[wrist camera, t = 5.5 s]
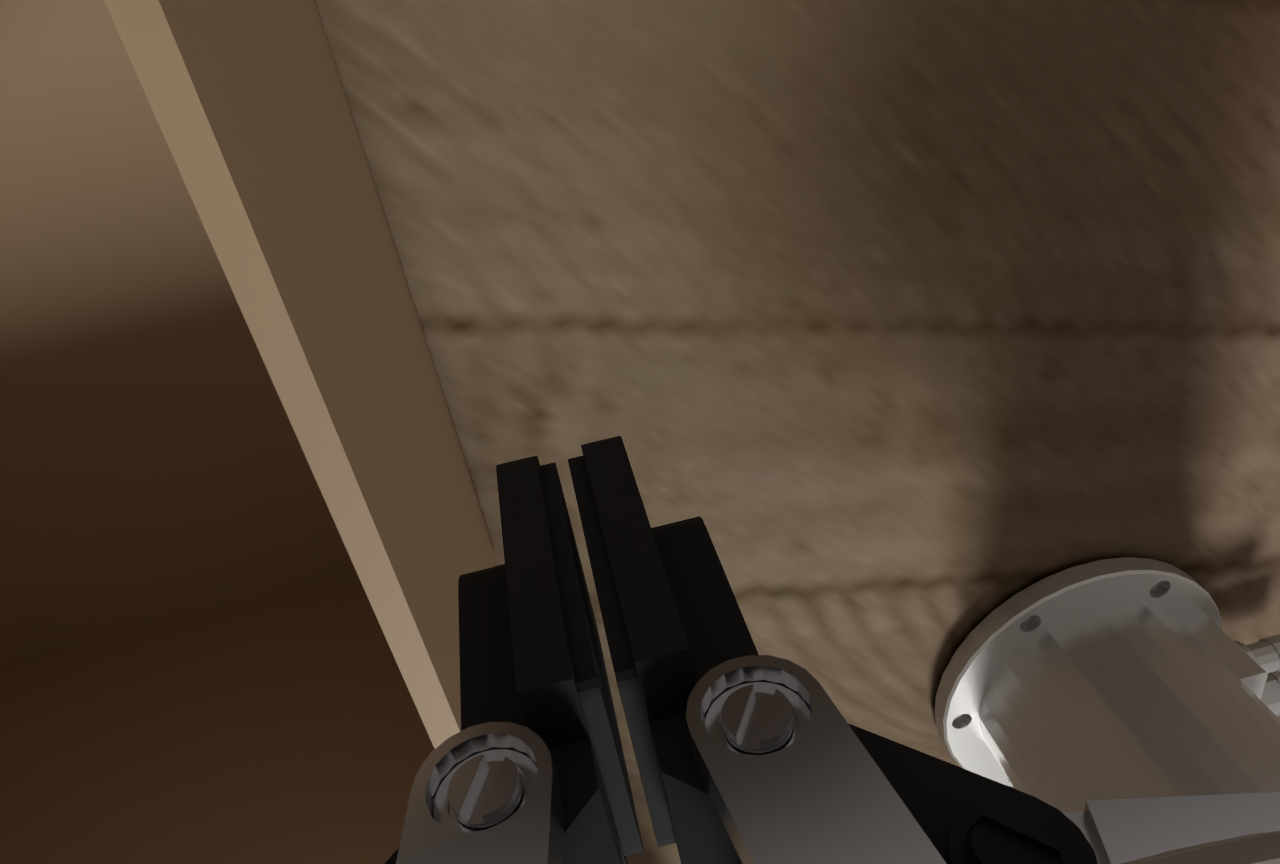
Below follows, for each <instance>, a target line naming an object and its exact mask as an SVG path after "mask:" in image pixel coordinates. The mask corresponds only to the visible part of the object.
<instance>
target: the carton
mask: <svg viewBox="0 0 1280 864" xmlns="http://www.w3.org/2000/svg"><path fill="white" fill-rule="evenodd" d="M491 567H495V562H494V548H493V542H492V539H491V536H490V533H489V530H488V527H487V524H486V521H485V518H484V515H483V512H482V509H481V506H480V503H479V500H478V497H477V494H476V491H475V488H474V485H473V482H472V478H471V475H470V472H469V469H468V466H467V463H466V460H465V457H464V454H463V451H462V448H461V445H460V442H459V439H458V436H457V433H456V430H455V427H454V424H453V421H452V418H451V415H450V411H449V408H448V405H447V402H446V399H445V396H444V393H443V390H442V387H441V384H440V381H439V378H438V375H437V372H436V369H435V366H434V363H433V360H432V357H431V354H430V351H429V347H428V344H427V341H426V338H425V335H424V332H423V329H422V326H421V323H420V320H419V317H418V314H417V311H416V308H415V305H414V302H413V299H412V296H411V293H410V290H409V287H408V284H407V280H406V277H405V274H404V271H403V268H402V265H401V262H400V259H399V256H398V253H397V250H396V247H395V244H394V241H393V238H392V235H391V232H390V229H389V226H388V223H387V220H386V217H385V213H384V210H383V207H382V204H381V201H380V198H379V195H378V192H377V189H376V186H375V183H374V180H373V177H372V174H371V171H370V168H369V165H368V162H367V159H366V156H365V153H364V150H363V146H362V143H361V140H360V137H359V134H358V131H357V128H356V125H355V122H354V119H353V116H352V113H351V110H350V107H349V104H348V101H347V98H346V95H345V92H344V89H343V86H342V82H341V79H340V76H339V73H338V70H337V67H336V64H335V61H334V58H333V55H332V52H331V49H330V46H329V43H328V40H327V37H326V34H325V31H324V28H323V25H322V22H321V19H320V15H319V12H318V9H317V6H316V3H315V0H0V864H385V862H386V861H387V860H388V859H389V858H390V857H391V856H392V855H393V853H394V852H395V851H396V850H397V849H398V848H399V846H400V841H401V836H402V831H403V826H404V821H405V816H406V811H407V806H408V801H409V797H410V792H411V788H412V785H413V783H414V780H415V777H416V775H417V772H418V770H419V768H420V767H421V766H422V764H423V763H424V762H425V760H426V759H427V757H428V756H429V755H430V753H431V752H432V751H434V750H435V749H436V748H437V747H438V746H439V745H441V744H442V743H443V742H444V741H445V740H446V739H448V738H449V737H451V736H453V735H455V734H457V733H459V732H460V731H461V702H460V654H459V606H458V580H459V577H460V575H463V574H467V573H471V572H475V571H479V570H483V569H487V568H491Z"/></svg>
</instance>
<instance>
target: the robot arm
mask: <svg viewBox="0 0 1280 864" xmlns="http://www.w3.org/2000/svg"><path fill="white" fill-rule="evenodd" d="M581 447H582V451H583V455H584V456H580V457H576V458H571V459H568V462H569V467H570V471H571V476H572V481H573V485H574V490H575V494H576V499H577V504H578V508H579V513H580V517H581V522H582V526H583V531H584V536H585V540H586V545H587V549H588V554H589V558H590V563H591V568H592V572H593V577H594V581H595V586H596V591H597V595H598V600H599V604H600V609H601V613H602V618H603V623H604V627H605V632H606V636H607V641H608V645H609V650H610V654H611V659H612V663H613V667H614V672H615V676H616V680H617V684H618V688H619V692H620V696H621V700H622V704H623V708H624V712H625V716H626V720H627V724H628V728H629V732H630V736H631V740H632V744H633V748H634V752H635V756H636V760H637V764H638V768H639V772H640V776H641V780H642V784H643V788H644V792H645V797H646V801H647V805H648V809H649V813H650V817H651V821H652V825H653V829H654V833H655V837H656V841H657V844H658V847H662V846H666V845H669V844H673V843H676V844H677V848H678V852H679V856H680V860H681V864H1280V719H1279V718H1278V717H1277V716H1278V715H1279V716H1280V634H1278V635H1275V636H1271V637H1267V638H1264V639H1260V640H1259V641H1258V642H1255V643H1252V644H1248V645H1245V644H1243V643H1240V642H1238V641H1233V640H1232V639H1231V638H1230V637H1229V636H1228V635H1227V634H1226V633H1225V632H1224V631H1223V630H1222V623H1221V618H1220V614H1219V610H1218V607H1217V606H1216V604H1215V602H1214V601H1213V599H1212V598H1211V596H1210V594H1209V593H1208V592H1207V591H1206V590H1205V589H1204V588H1203V587H1202V586H1200V585H1199V584H1198V583H1197V582H1196V581H1195V580H1194V579H1193V578H1192V577H1191V576H1190V575H1189V574H1187V573H1185V572H1184V571H1182V570H1180V569H1179V568H1177V567H1175V566H1174V565H1172V564H1168V563H1165V562H1161V561H1158V560H1154V559H1148V558H1133V557H1123V558H1113V559H1104V560H1097V561H1093V562H1090V563H1086V564H1082V565H1078V566H1074V567H1071V568H1068V569H1065V570H1063V571H1061V572H1058V573H1056V574H1053V575H1051V576H1048V577H1046V578H1043V579H1041V580H1040V581H1038V582H1036V583H1034V584H1033V585H1031V586H1029V587H1027V588H1025V589H1024V590H1022V591H1020V592H1018V593H1017V594H1015V595H1014V596H1012V597H1011V598H1010V599H1008V600H1007V601H1006V602H1004V603H1003V604H1002V605H1000V606H999V607H997V608H996V609H995V610H993V611H992V612H991V613H990V614H989V615H988V616H987V617H986V618H985V619H984V620H983V621H982V622H981V623H979V624H978V625H977V626H976V627H975V628H974V629H973V630H972V631H971V632H970V634H969V635H968V636H967V638H966V639H965V640H964V641H963V643H962V644H961V645H960V646H959V648H958V649H957V650H956V652H955V653H954V655H953V657H952V658H951V660H950V662H949V664H948V666H947V668H946V669H945V671H944V673H943V675H942V678H941V681H940V684H939V687H938V690H937V694H936V701H935V714H934V715H935V720H936V725H937V729H938V733H939V734H940V736H941V738H942V740H943V742H944V744H945V745H946V747H947V749H948V751H949V753H950V754H951V756H952V757H953V758H954V759H955V761H956V762H957V763H958V765H959V766H960V767H961V768H960V767H958V766H955V765H953V764H950V763H948V762H945V761H943V760H940V759H937V758H935V757H932V756H930V755H927V754H925V753H922V752H920V751H917V750H915V749H912V748H909V747H907V746H904V745H902V744H899V743H897V742H894V741H892V740H889V739H887V738H884V737H881V736H879V735H876V734H874V733H871V732H869V731H866V730H864V729H861V728H859V727H856V726H853V725H851V724H848V723H847V722H846V720H845V719H844V717H843V716H842V714H841V713H840V712H839V710H838V709H837V707H836V706H835V705H834V703H833V702H832V700H831V699H830V697H829V696H828V695H827V693H826V692H825V690H824V689H823V687H822V686H821V685H820V683H819V682H818V681H817V680H816V679H815V678H814V677H813V676H812V675H811V674H810V673H809V672H808V671H807V670H806V669H804V668H802V667H801V666H799V665H797V664H795V663H793V662H791V661H789V660H786V659H782V658H778V657H774V656H769V655H758V652H757V650H756V647H755V645H754V643H753V640H752V638H751V635H750V633H749V630H748V628H747V626H746V623H745V621H744V618H743V616H742V613H741V611H740V609H739V606H738V604H737V601H736V599H735V596H734V594H733V592H732V589H731V587H730V584H729V582H728V579H727V577H726V575H725V572H724V570H723V567H722V565H721V563H720V560H719V558H718V555H717V553H716V550H715V548H714V546H713V543H712V541H711V538H710V536H709V533H708V531H707V529H706V526H705V524H704V522H703V520H702V518H701V517H700V516H699V517H695V518H691V519H687V520H683V521H679V522H675V523H671V524H667V525H662V526H658V527H654V528H651V527H650V524H649V521H648V518H647V515H646V511H645V508H644V505H643V502H642V499H641V496H640V493H639V490H638V487H637V484H636V481H635V478H634V475H633V471H632V468H631V465H630V462H629V459H628V456H627V453H626V450H625V447H624V444H623V441H622V438H621V436H617V437H613V438H609V439H605V440H600V441H596V442H592V443H588V444H584V445H581ZM496 468H497V481H498V492H499V503H500V514H501V524H502V535H503V546H504V557H505V564H504V565H500V566H495V567H491V568H487V569H483V570H479V571H475V572H471V573H467V574H463V575H460V577H459V580H458V606H459V654H460V702H461V731H460V732H459V733H457V734H455V735H453V736H451V737H449V738H448V739H446V740H445V741H444V742H443V743H442V744H441V745H439V746H438V747H437V748H436V749H435V750H434V751H432V752H431V753H430V755H429V756H428V757H427V759H426V760H425V762H424V763H423V764H422V766H421V767H420V768H419V770H418V772H417V775H416V777H415V780H414V783H413V785H412V788H411V792H410V797H409V801H408V806H407V811H406V816H405V821H404V826H403V831H402V836H401V841H400V846H399V848H398V849H397V850H396V851H395V852H394V853H393V855H392V856H391V857H390V858H389V859H388V860H387V861H386V862H385V864H628V861H627V856H629V855H632V854H636V853H640V852H643V845H642V840H641V835H640V831H639V826H638V821H637V816H636V811H635V807H634V802H633V797H632V792H631V787H630V783H629V778H628V773H627V768H626V763H625V759H624V754H623V749H622V744H621V739H620V735H619V730H618V725H617V720H616V715H615V711H614V706H613V701H612V696H611V691H610V687H609V682H608V677H607V672H606V667H605V663H604V658H603V653H602V648H601V643H600V639H599V634H598V629H597V625H596V621H595V617H594V612H593V608H592V604H591V601H590V597H589V593H588V589H587V585H586V581H585V577H584V573H583V569H582V565H581V561H580V557H579V553H578V549H577V546H576V542H575V538H574V534H573V530H572V526H571V522H570V518H569V514H568V510H567V506H566V502H565V498H564V495H563V491H562V487H561V483H560V479H559V475H558V471H557V467H556V464H555V463H550V464H546V465H542V466H540V464H539V460H538V457H537V456H533V457H529V458H525V459H520V460H516V461H512V462H508V463H503V464H499V465H497V466H496ZM1009 786H1013V787H1014V788H1015V789H1014V788H1011V787H1009Z"/></svg>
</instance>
